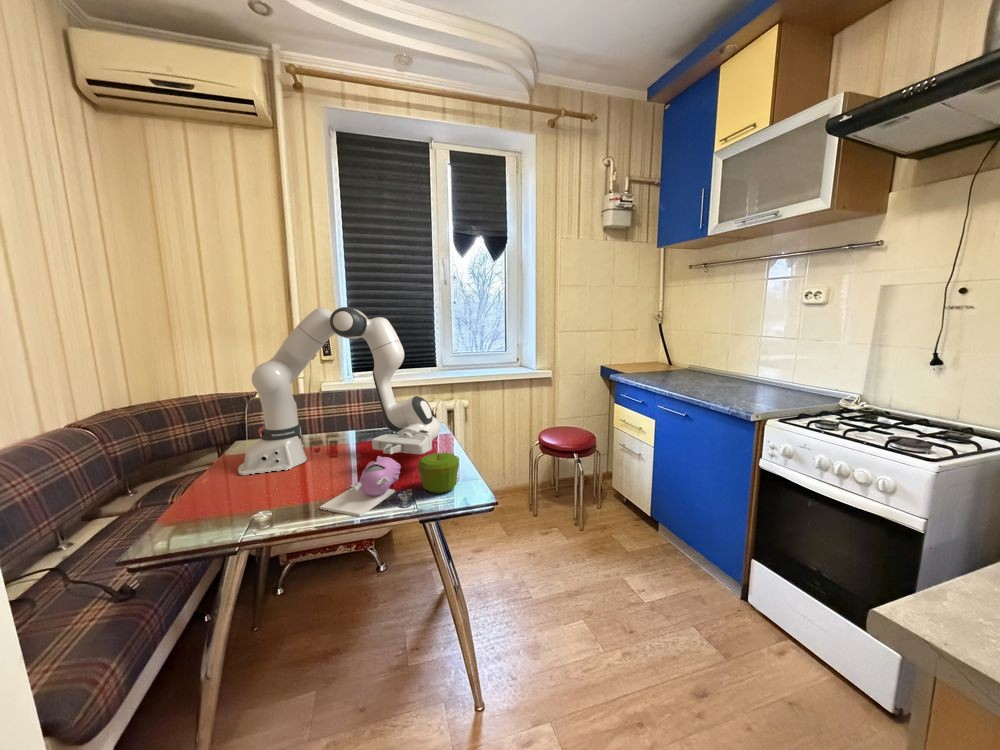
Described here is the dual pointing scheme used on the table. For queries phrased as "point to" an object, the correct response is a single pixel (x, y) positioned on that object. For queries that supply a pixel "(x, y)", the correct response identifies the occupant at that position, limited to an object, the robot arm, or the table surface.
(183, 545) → the table surface
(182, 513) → the table surface
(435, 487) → the apple
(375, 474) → the toy character
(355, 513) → the mat
